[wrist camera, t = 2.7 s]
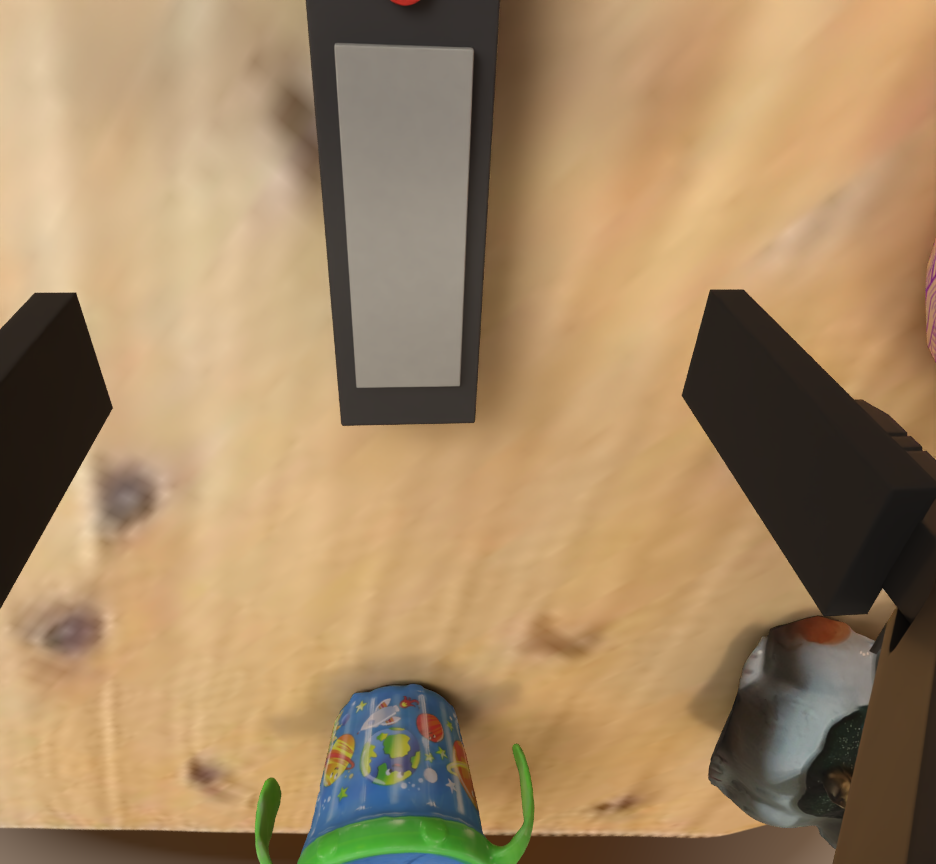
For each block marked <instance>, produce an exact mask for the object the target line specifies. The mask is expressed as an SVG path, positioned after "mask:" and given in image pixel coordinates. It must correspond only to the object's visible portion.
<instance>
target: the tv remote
mask: <svg viewBox="0 0 936 864" xmlns="http://www.w3.org/2000/svg"><path fill="white" fill-rule="evenodd" d="M306 9H307V21H308V33H309V45H310V56H311V68H312V80H313V92H314V104H315V116H316V128H317V140H318V152H319V164H320V176H321V188H322V200H323V212H324V224H325V236H326V248H327V260H328V272H329V283H330V295H331V307H332V319H333V331H334V343H335V355H336V367H337V379H338V391H339V403H340V415H341V424H342V425H343V426H354V425H400V424H447V423H474V422H475V414H476V397H477V381H478V364H479V347H480V330H481V313H482V296H483V280H484V263H485V246H486V229H487V212H488V195H489V179H490V162H491V145H492V128H493V111H494V95H495V78H496V61H497V44H498V27H499V10H500V0H306Z"/></svg>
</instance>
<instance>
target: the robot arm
mask: <svg viewBox="0 0 936 864" xmlns="http://www.w3.org/2000/svg"><path fill="white" fill-rule="evenodd" d="M682 397H683V398H684V400H685V402H686V403H687V405H688V406H689V408H690V409H691V411H692V412H693V414H694V416H695V417H696V419H697V420H698V422H699V423H700V425H701V426H702V428H703V429H704V431H705V433H706V434H707V436H708V437H709V439H710V440H711V442H712V443H713V445H714V447H715V448H716V450H717V451H718V453H719V454H720V456H721V457H722V459H723V461H724V462H725V464H726V465H727V467H728V468H729V470H730V471H731V473H732V475H733V476H734V478H735V479H736V481H737V482H738V484H739V485H740V487H741V489H742V490H743V492H744V493H745V495H746V496H747V498H748V499H749V501H750V502H751V504H752V506H753V507H754V509H755V510H756V512H757V513H758V515H759V516H760V518H761V520H762V521H763V523H764V524H765V526H766V527H767V529H768V530H769V532H770V534H771V535H772V537H773V538H774V540H775V541H776V543H777V544H778V546H779V548H780V549H781V551H782V552H783V554H784V555H785V557H786V558H787V560H788V562H789V563H790V565H791V566H792V568H793V569H794V571H795V572H796V574H797V575H798V577H799V579H800V580H801V582H802V583H803V585H804V586H805V588H806V589H807V591H808V593H809V594H810V596H811V597H812V599H813V600H814V602H815V603H816V605H817V607H818V608H819V610H820V611H821V613H822V614H823V616H840V615H857V614H868V612H869V610H870V608H871V607H872V605H873V603H874V602H875V600H876V598H877V597H878V595H879V593H880V592H881V590H882V588H883V589H884V590H885V592H886V593H887V594H888V596H889V597H890V598H891V600H892V601H893V602H894V604H895V605H896V606H897V607H896V609H895V610H894V612H893V613H892V615H891V617H890V618H889V620H888V621H887V623H886V625H885V626H884V628H883V629H882V631H881V633H880V634H879V636H878V637H877V639H876V641H875V642H874V644H873V645H872V647H871V649H870V650H869V651H870V652H872V653H874V654H877V653H878V651H879V650H880V649H881V652H880V656H879V661H878V665H877V669H876V674H875V678H874V683H873V687H872V692H871V696H870V700H869V705H868V709H867V714H866V718H865V723H864V727H863V731H862V736H861V740H860V745H859V749H858V754H857V758H856V762H855V767H854V771H853V776H852V780H851V785H850V789H849V793H848V798H847V802H846V807H845V811H844V816H843V820H842V824H841V829H840V833H839V838H838V842H837V847H836V851H835V855H834V860H833V864H936V460H935V459H934V458H933V457H932V456H931V455H930V454H929V453H928V452H927V451H922V446H921V445H920V444H919V443H918V442H916V441H915V440H914V439H913V438H912V437H911V436H907V432H906V431H905V430H904V429H903V428H902V427H901V426H900V425H899V424H898V423H897V422H896V421H895V420H893V419H892V418H891V417H890V416H889V415H888V414H886V413H885V412H883V411H881V410H879V409H878V408H876V407H874V406H872V405H871V404H869V403H867V402H866V401H864V400H854V399H853V398H852V397H851V396H850V395H849V394H848V393H847V392H846V391H845V390H844V389H843V388H842V387H841V386H840V385H839V384H838V383H837V382H836V381H835V380H834V379H833V378H832V377H831V376H830V375H829V374H828V373H827V372H826V371H825V370H824V369H823V368H822V367H821V366H820V365H819V364H818V363H817V362H816V361H815V360H814V359H813V358H812V357H811V356H810V355H809V354H808V353H807V352H806V351H805V350H804V349H803V348H802V347H801V346H800V345H799V344H798V343H797V342H796V341H795V340H794V339H793V338H792V337H791V336H790V335H789V334H788V333H787V332H786V331H785V330H784V329H783V328H782V327H781V326H780V325H779V324H778V323H777V322H776V321H775V320H774V319H773V318H772V317H771V316H770V315H769V314H768V313H767V312H766V311H765V310H764V309H763V308H762V307H760V306H759V305H758V304H757V303H756V302H755V301H754V300H753V299H752V298H751V297H750V296H749V295H748V294H747V293H746V292H745V291H744V290H710V292H709V296H708V300H707V303H706V307H705V311H704V314H703V318H702V322H701V326H700V329H699V333H698V337H697V341H696V344H695V348H694V352H693V355H692V359H691V363H690V367H689V370H688V374H687V378H686V381H685V385H684V389H683V393H682ZM112 409H113V407H112V404H111V401H110V398H109V395H108V391H107V388H106V385H105V382H104V379H103V376H102V373H101V370H100V366H99V363H98V360H97V357H96V354H95V351H94V348H93V344H92V341H91V338H90V335H89V332H88V329H87V326H86V322H85V319H84V316H83V313H82V310H81V307H80V304H79V300H78V297H77V294H76V293H34V294H33V295H32V296H31V298H30V299H29V300H28V301H27V302H26V303H25V304H24V305H23V306H22V307H21V308H20V309H19V310H18V311H17V312H16V313H15V314H14V315H13V316H12V318H11V319H10V320H9V321H8V322H7V323H6V324H5V325H4V326H3V327H2V328H1V329H0V608H1V607H2V605H3V603H4V601H5V600H6V598H7V596H8V594H9V592H10V591H11V589H12V587H13V585H14V583H15V582H16V580H17V578H18V576H19V575H20V573H21V571H22V569H23V567H24V566H25V564H26V562H27V560H28V558H29V557H30V555H31V553H32V551H33V550H34V548H35V546H36V544H37V542H38V541H39V539H40V537H41V535H42V533H43V532H44V530H45V528H46V526H47V525H48V523H49V521H50V519H51V517H52V516H53V514H54V512H55V510H56V508H57V507H58V505H59V503H60V501H61V500H62V498H63V496H64V494H65V492H66V491H67V489H68V487H69V485H70V484H71V482H72V480H73V478H74V476H75V475H76V473H77V471H78V469H79V467H80V466H81V464H82V462H83V460H84V459H85V457H86V455H87V453H88V451H89V450H90V448H91V446H92V444H93V442H94V441H95V439H96V437H97V435H98V434H99V432H100V430H101V428H102V426H103V425H104V423H105V421H106V419H107V417H108V416H109V414H110V412H111V410H112Z"/></svg>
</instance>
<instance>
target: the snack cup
mask: <svg viewBox="0 0 936 864" xmlns="http://www.w3.org/2000/svg"><path fill="white" fill-rule="evenodd" d="M512 750H513V754H514V758H515V761H516V765H517V768H518V771H519V776H520V786H521V797H522V808H523V816H524V823H523V825H522V827H521V828H520V830H519V831H518V832H517V833H516V834H515V836H514V837H513V838H512V840H511V841H510V843H508V844H507V845H505V846H502V847H500V846H496V845H493V844H491V843H490V842H489V841H488V840H487V839H486V837H485V836H484V834H483V831H482V827H481V821H480V816H479V810H478V805H477V801H476V796H475V792H474V788H473V783H472V778H471V774H470V769H469V765H468V761H467V756H466V752H465V749H464V745H463V742H462V736H461V734H460V728H459V724H458V720H457V716H456V713H455V710H454V707H453V706H452V705H450V704H449V703H448V702H447V701H446V700H445V699H444V698H443V697H442V696H440V695H439V694H437V693H436V692H433V691H431V690H428V689H424V688H423V687H422V686H421V685H418V684H409V685H406V686H402V685H392V686H386V687H381V688H377V689H374V690H373V691H371V692H362V693H360V692H359V693H355V694H353V696H352V697H351V699H350V701H349V702H348V704H347V705H345V707H344V708H343V709H342V710H341V711H340V713H339V716H338V717H337V719H336V721H335V723H334V727H333V731H332V736H331V741H330V745H329V749H328V753H327V758H326V762H325V767H324V771H323V776H322V780H321V784H320V792H319V794H318V797H317V802H316V806H315V813H314V816H313V820H312V826H311V829H310V831H309V834H308V836H307V839H306V842H305V844H304V847H303V850H302V853H301V856H300V858H299V860H298V863H297V864H516V863H517V862H518V861H519V859H520V857H521V856H522V855H523V853H524V851H525V849H526V847H527V845H528V842H529V840H530V837H531V833H532V828H533V820H534V799H533V788H532V782H531V776H530V772H529V768H528V765H527V761H526V758H525V755H524V753H523V751H522V749H521V747H520V745H519V744H514V745H513V747H512ZM280 799H281V790H280V786H279V784H278V782H277V781H276V780H275V779H274V778H269V779H267V780H266V781H265V783H264V785H263V788H262V790H261V793H260V796H259V801H258V804H257V811H256V821H255V840H256V841H255V842H256V851H257V855H258V858H259V861H260V864H273V863H272V861H271V859H270V856H269V850H268V847H269V841H270V838H271V835H272V831H273V827H274V822H275V817H276V815H277V811H278V808H279V806H280Z"/></svg>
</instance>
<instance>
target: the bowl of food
mask: <svg viewBox="0 0 936 864" xmlns="http://www.w3.org/2000/svg"><path fill="white" fill-rule="evenodd" d="M925 292H926V331H927V346H928V348H929V350H930V352H931V354H932V356H933V358H934V360H935V362H936V239H935V242H934V246H933V249H932V252H931V255H930V258H929V261H928V265H927V274H926V288H925Z"/></svg>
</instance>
